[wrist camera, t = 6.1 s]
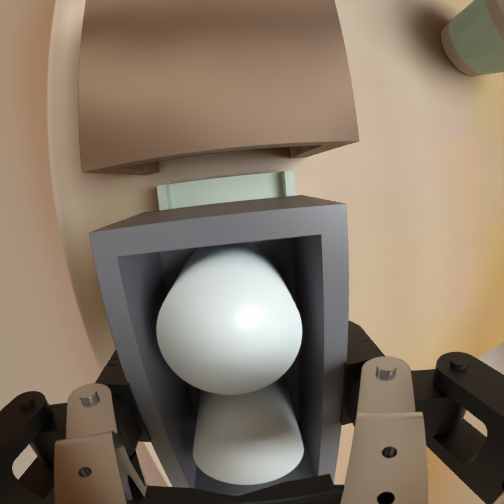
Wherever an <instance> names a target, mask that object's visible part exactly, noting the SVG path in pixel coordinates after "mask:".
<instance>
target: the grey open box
mask: <svg viewBox="0 0 504 504" xmlns="http://www.w3.org/2000/svg"><path fill="white" fill-rule="evenodd" d="M89 236H90V241H91V247H92V253H93V258H94V263H95V268H96V273H97V277H98V282H99V286H100V291H101V295H102V299H103V303H104V307H105V311H106V315H107V319H108V322H109V326H110V330H111V333H112V337H113V340H114V343H115V347H116V350H117V353H118V356H119V359H120V363H121V366H122V369H123V372H124V374H125V377H126V380H127V382H129V384H130V387H131V389H132V392H133V395H134V398H135V400H136V403H137V405H138V408H139V411H140V413H141V416H142V418H143V421H144V423H145V425H146V428H147V430H148V433H149V435H150V437H151V443H152V445H153V447H154V450H155V452H156V454H157V456H158V458H159V460H160V462H161V464H162V466H163V468H164V470H165V472H166V474H167V476H168V478H169V480H170V482H171V484H172V486H173V487H184V488H194V489H199V490H204V491H209V492H215V493H221V494H227V495H242V494H246V493H250V492H253V491H257V490H260V489H263V488H267V487H270V486H273V485H276V484H279V483H282V482H285V481H292V480H298V479H304V478H310V477H315V476H320V475H325V474H330V475H331V478H332V481H333V483H334V477H335V470H336V464H337V457H338V449H339V441H340V433H341V423H340V418H341V407H342V395H343V382H344V366H345V362H346V361H347V345H348V313H349V259H348V227H347V207H346V204H344V203H340V202H335V201H330V200H324V199H319V198H314V197H309V196H303V195H298V196H286V197H274V198H264V199H253V200H243V201H234V202H224V203H216V204H207V205H199V206H190V207H182V208H175V209H167V210H160V211H153V212H145V213H142V214H139V215H136V216H133V217H130V218H128V219H125V220H122V221H119V222H117V223H114V224H111V225H108V226H106V227H103V228H100V229H98V230H95V231H92V232H90V233H89Z"/></svg>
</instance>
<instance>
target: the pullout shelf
mask: <svg viewBox="0 0 504 504" xmlns="http://www.w3.org/2000/svg"><path fill="white" fill-rule="evenodd" d="M157 194H158V203H159V211H160V210H167V209H175V208H182V207H190V206H199V205H207V204H216V203H224V202H234V201H243V200H253V199H264V198H274V197H286V196H296V192H295V180H294V171H283V172H274V173H262V174H251V175H240V176H231V177H221V178H213V179H204V180H196V181H188V182H181V183H174V184H164V185H157Z"/></svg>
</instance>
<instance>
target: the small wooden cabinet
mask: <svg viewBox="0 0 504 504" xmlns="http://www.w3.org/2000/svg"><path fill="white" fill-rule="evenodd" d="M79 140H80V156H81V169H82V172H83V173H115V174H137V175H146V174H152V173H158V172H159V166H158V161H161V160H168V159H174V158H181V157H188V156H196V155H204V154H212V153H221V152H230V151H240V150H251V149H263V148H276V147H289V148H290V158H300V157H309V156H312V155H315V154H318V153H321V152H324V151H328V150H331V149H334V148H338V147H341V146H344V145H348V144H351V143H355V142H358V141H359V135H358V126H357V118H356V110H355V103H354V96H353V90H352V83H351V77H350V71H349V66H348V60H347V55H346V50H345V45H344V40H343V35H342V31H341V26H340V22H339V17H338V13H337V9H336V5H335V1H334V0H86V4H85V11H84V18H83V27H82V37H81V49H80V64H79Z"/></svg>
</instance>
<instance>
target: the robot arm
mask: <svg viewBox="0 0 504 504" xmlns="http://www.w3.org/2000/svg"><path fill="white" fill-rule="evenodd" d="M466 410H468V411H469V412H470V413H471V414H473V415H474V416H475V417H477V418H478V419H479V420H481V421H482V422H483V423H484V424H485V426H486V428H487V437H485V436H484V435H483V434H482V433H480V432H479V431H478V430H477V429H476V428H474V427H473V426H472V425H471V424H469V423H468V422H467V421H466V420H464V419H463V417H464V415H465V412H466ZM340 423H341V425H345V424H349V423H353V425H354V427H355V429H354V435H353V442H352V448H351V453H350V459H349V464H348V470H347V475H346V480H345V484H344V485H334V484H333V481H332V478H331V475H330V474H325V475H320V476H315V477H310V478H304V479H298V480H292V481H285V482H282V483H279V484H276V485H273V486H270V487H267V488H263V489H260V490H257V491H253V492H250V493H246V494H242V495H227V494H221V493H215V492H209V491H204V490H199V489H194V488H184V487H161V486H149V485H148V482H147V478H146V475H145V472H144V469H143V466H142V463H141V459H140V455H139V453H138V451H137V449H136V446H137V443H138V441H142V442H151V437H150V435H149V433H148V430H147V428H146V425H145V423H144V421H143V418H142V416H141V413H140V411H139V408H138V405H137V403H136V400H135V398H134V395H133V392H132V389H131V387H130V384H129V382H127V380H126V377H125V374H124V372H123V369H122V366H121V363H120V359H119V356H118V353H117V350H115V352H114V354H113V355H112V357H111V359H110V360H109V361H108V363H107V366H105V368H104V369H103V371H102V372H101V374H100V376H99V377H98V379H97V381H96V382H95V383H94V384H87V385H84V386H81V387H79V388H77V389H76V390H74V391H73V392H72V393H71V394H70V396H69V398H68V403H62V404H54V405H49V404H48V402H47V400H46V398H45V396H44V395H43V394H42V393H40V392H36V391H30V392H25V393H22V394H20V395H18V396H17V397H16V398H14V399H13V400H12V401H11V402H10V403H9V404H8V405H6V406H5V407H4V408H3V409H2V410H1V411H0V504H428V473H427V472H428V469H427V451H426V446H427V447H428V448H429V449H431V451H432V452H434V454H436V455H437V456H438V457H439V458H440V459H441V460H442V461H443V462H444V463H445V464H446V465H447V466H448V467H449V468H450V469H451V470H452V471H453V472H454V473H455V474H456V475H457V476H458V477H459V478H460V479H461V480H462V481H463V482H464V483H465V484H466V485H467V486H468V487H469V488H470V489H471V490H472V491H473V492H474V493H475V494H476V495H478V496H479V497H480V498H481V499H482V500H483V501H484V502H485V503H486V504H504V375H503V374H501V373H500V372H498V371H496V370H495V369H493V368H492V367H490V366H488V365H487V364H485V363H483V362H482V361H480V360H478V359H477V358H475V357H473V356H471V355H469V354H467V353H462V352H450V353H446V354H444V355H442V356H440V357H439V359H438V360H437V363H436V368H435V369H432V370H418V371H412V370H410V367H409V365H408V364H407V363H406V362H405V361H403V360H401V359H399V358H395V357H389V356H385V355H384V354H383V353H382V352H381V351H380V349H379V348H378V347H377V346H376V344H375V343H374V342H373V341H372V340H371V339H370V337H369V336H368V335H367V334H366V333H365V331H364V330H363V329H362V328H361V327H360V326H359V325H357V324H355V323H353V322H351V321H348V345H347V361H346V362H345V366H344V382H343V395H342V407H341V418H340ZM28 444H30V446H31V447H32V449H33V450H34V452H35V453H36V455H37V456H38V457H37V458H36V459H35V460H34V461H33V463H32V464H31V465H30V467H28V469H27V470H26V471H25V472H24V474H23V475H22V476H21V477H20V478H19V480H18V479H17V478H16V477H15V476H14V474H13V471H12V465H13V462H14V460H15V459H16V458H17V457H18V456H19V455H20V453H21V452H22V451H23V450H24V449H25V448H26V447H27V446H28Z"/></svg>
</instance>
